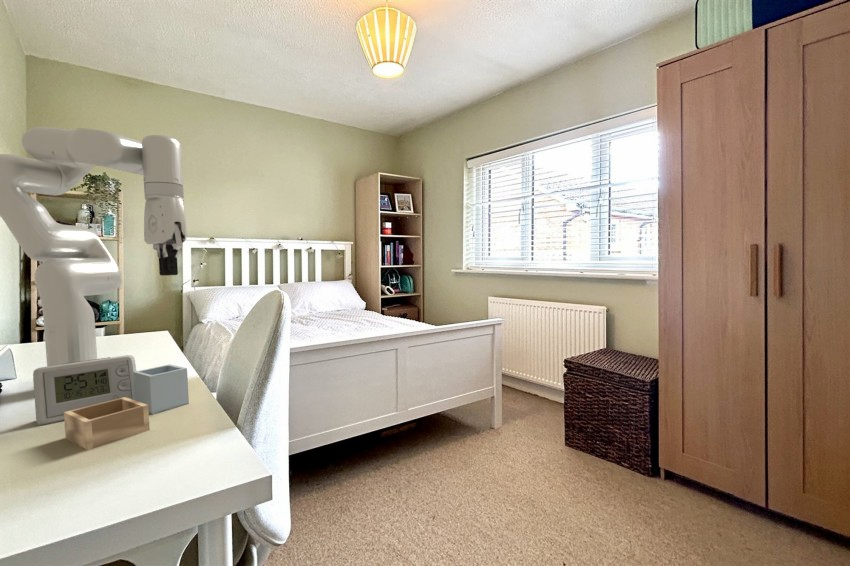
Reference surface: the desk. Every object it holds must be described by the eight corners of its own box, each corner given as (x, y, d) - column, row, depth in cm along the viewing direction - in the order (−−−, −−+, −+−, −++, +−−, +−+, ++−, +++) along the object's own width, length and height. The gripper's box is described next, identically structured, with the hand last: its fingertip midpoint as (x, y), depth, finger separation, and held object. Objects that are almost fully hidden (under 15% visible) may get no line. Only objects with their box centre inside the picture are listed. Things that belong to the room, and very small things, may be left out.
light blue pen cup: (135, 411, 85) (133, 371, 85) (171, 400, 91) (169, 364, 91) (152, 417, 81) (149, 376, 81) (189, 406, 87) (186, 368, 87)
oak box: (65, 441, 71) (63, 412, 71) (126, 423, 79) (124, 396, 78) (87, 453, 66) (85, 422, 66) (149, 433, 74) (148, 405, 73)
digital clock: (31, 430, 76) (26, 372, 76) (43, 416, 84) (39, 363, 83) (139, 412, 85) (136, 359, 84) (141, 400, 92) (138, 352, 92)
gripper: (130, 195, 95) (135, 275, 96) (163, 187, 87) (168, 276, 88) (165, 198, 102) (169, 274, 103) (199, 192, 94) (203, 274, 95)
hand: (168, 275), depth 96 cm, fingers closed
